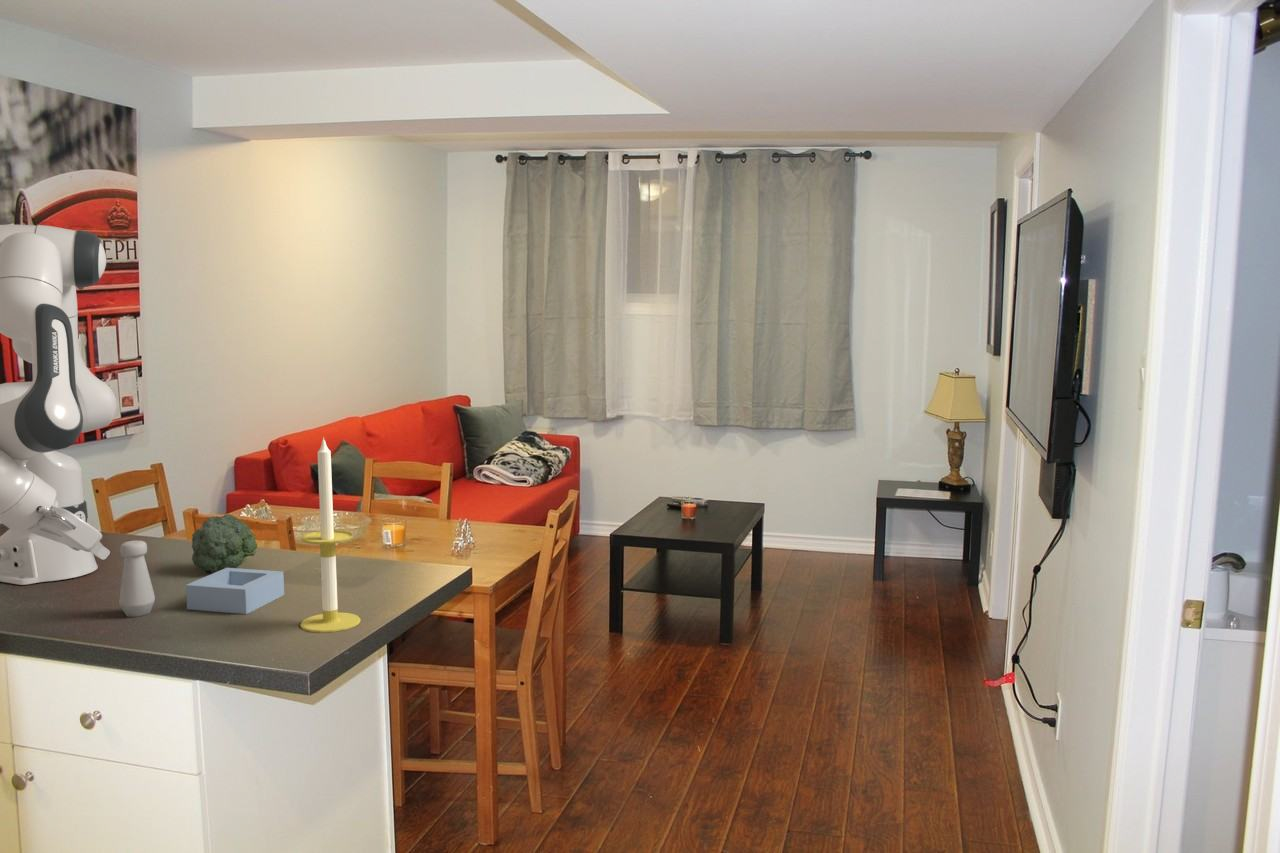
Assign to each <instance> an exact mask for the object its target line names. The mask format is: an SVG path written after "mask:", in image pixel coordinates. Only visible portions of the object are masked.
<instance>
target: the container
mask: <svg viewBox="0 0 1280 853" xmlns="http://www.w3.org/2000/svg"><path fill="white" fill-rule="evenodd" d="M284 577H285V576H284V571H280V570H279V571H278V570H265V569H251V568H238V567H237V568H225V569H223V570H217V571H214V572H212V573H211V574H208V575H206V576H204V577H201V578H199V579H197V580H194V581H192V582H189V583H187V584H185V596H186V610H190V611H191V610H192V611H202V612H203V611H204V612H216V613H228V614H229V613H230V614H241V615H247V614H250V613H252V612H254V611H256V610H257V609H260V608H261V607H263V606H266V605H268V604H269V603H271V602H274V601H276V600H277V599H279V598H281V597H283V596H285V581H284V579H285V578H284Z"/></svg>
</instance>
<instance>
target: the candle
mask: <svg viewBox="0 0 1280 853" xmlns="http://www.w3.org/2000/svg"><path fill="white" fill-rule="evenodd" d="M320 445H321V446H320V448H319V449H318V451H317V472H318V496H319V522H320V525H319V526H320V530H319V531H313V532H312V531H311V532H308V533H306V534H304V535H302V536H301V537H300V539H301V540H300V541H302V542H303V543H306V544H310V545H311V544H312V545H319V553H320V576H321V577H320V578H321V580H320V581H321V604H322V613H320V614H319V613H318V614H316V615H311V616H309V617H307V618H304V619H303V620H301V623H300V628H301V629H302V630H303V631H306V632H310V633H322V634H324V633H335V632H342V631H347V630H349V629H353V628H354V627H356V626H357V625H359V624H360V623H361V618H360V617H359V616H358V615H357V614H354V613H350V612H341V611H340V612H339V610H338V609H339V606H338V604H339V603H338V582H337V581H338V580H337V558H336V557H337V555H336V553H337V552H336V544H338V543H343V542H346V541H347V542H348V541H349V540H351V539H353V537H354V533H352V532H351V531H349V530H337V529H334V528H335V527H334V509H333V508H334V506H333V504H334V503H333V483H332V482H333V480H332V476H333V475H332V456H331V454H332V452H331V450H330V449H329V448H328V446H327V443H326V439H325V436H323V438H322V440H321V444H320Z"/></svg>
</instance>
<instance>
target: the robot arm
mask: <svg viewBox="0 0 1280 853" xmlns="http://www.w3.org/2000/svg"><path fill="white" fill-rule="evenodd" d="M106 267H107V255H106V251H105V249H104V246H103V243H102V240H101V239H100V238H99V237H98V236H97V234H95V233H93V232H89V231H87V230H83V229H77V230H75V229H73V230H72V229H70V228H69V229H68V228H63V227H60V226H59V227H58V226H51V225H43V224H38V225H35V224H33V225H31V224H0V334H1V335H3V336H5V337H7V338H9V339H11V340H12V348H13V350H14V352H15V354H16V356H18V357H19V358H20V359H22V360H23V361H25V362H27V363H29V364H32V368H31V369H32V370H31V371H32V381H18V382H16V381H15V382H4V383H1V384H0V523H1V524H2V525H3V526H5V527H7V528H8V529H7V530H6V531H5V532H4V533H3V534H1V535H0V582H1V583H8V584H14V585H18V586H19V585H21V586H22V585H23V586H25V585H32V584H36V583H44V582H54V581H61V580H68V579H72V578H78V577H82V576H85V575H88V574H91V573H94V572H95V571H97V570H98V568H99V567H98V563H97V562H96V558H97V559H100V560H103V561H104V560H106V559H107V558H108V556H110V553H111V551H110V550H109V549H108V548H107V547H105V546H104V545H103V543H102V542H101V540H102V538H103V534H102V532H100V530H98V529H96V527H94V526H92V525H91V524H89V523H88V517H89V516H88V514H89V513H88V505H87V504H88V503H87V501H86V500H85V497H84V496H85V495H84V494H85V492H84V483H83V482H84V480H83V469H82V466H81V464H80V462H79V461H78V460H76V459H75V458H74V457H73V456H70V455H68V454H66V453H63V452H61V451H60V452H59V450H63V449H66V448H69V447H70V446H72V445H74V444H75V443H76V441H77V440H79V438H80V436H81V433H82V434H83V433H84V434H85V433H87V432H92V431H95V430H98V429H102V428H105V427H108V426H109V425H110V424H111V423H112V422H113V420H114V418H115V416H116V415H117V408H118V403H117V398H116V395H115V393H114V392H113V390H112V388H111V387H110V385H108V383H106V382H104V381H103V380H101V379H99V378H98V377H97V376H96V375H94V373H92V372H91V371H90V369H89V368H88V367H87V365H86V364H85V361H84V359H83V356H82V354H81V350H80V340H79V326H78V325H79V324H78V323H79V322H78V315H79V314H78V312H79V311H78V310H79V309H78V297H77V290H76V288H77V289H78V290H79V291H81V290H84V289H85V288H88V287H93V286H94V285H96V284H97V283H99V282H100V281H101V279H102V276H103V274H104V273H105V269H106ZM95 557H96V558H95Z"/></svg>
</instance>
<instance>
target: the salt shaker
mask: <svg viewBox="0 0 1280 853" xmlns="http://www.w3.org/2000/svg"><path fill="white" fill-rule="evenodd" d="M119 548H120V549H119V552H120V556H121V557H123V558H124V559H123V567H122V575H121V582H120V592H119V601H118V605H119V608H120V609H121V610H122V611H123V613H124V614H125V616H126V617H133V618H134V617H135V618H136V617H137V618H138V617H142V616H147V615H149V614H150V613H151V612H152V609H153V607H154V604H155V600H156V595H155V591H154V588H153V584H152V580H151V577H150V573H149V569H148V564H147V562H146V559H145V558H146V557H145V555H146V554H147V553H148V544H147V542H146V541H143V540H129V541H125V542H123V543H121V545H120V547H119Z"/></svg>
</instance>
